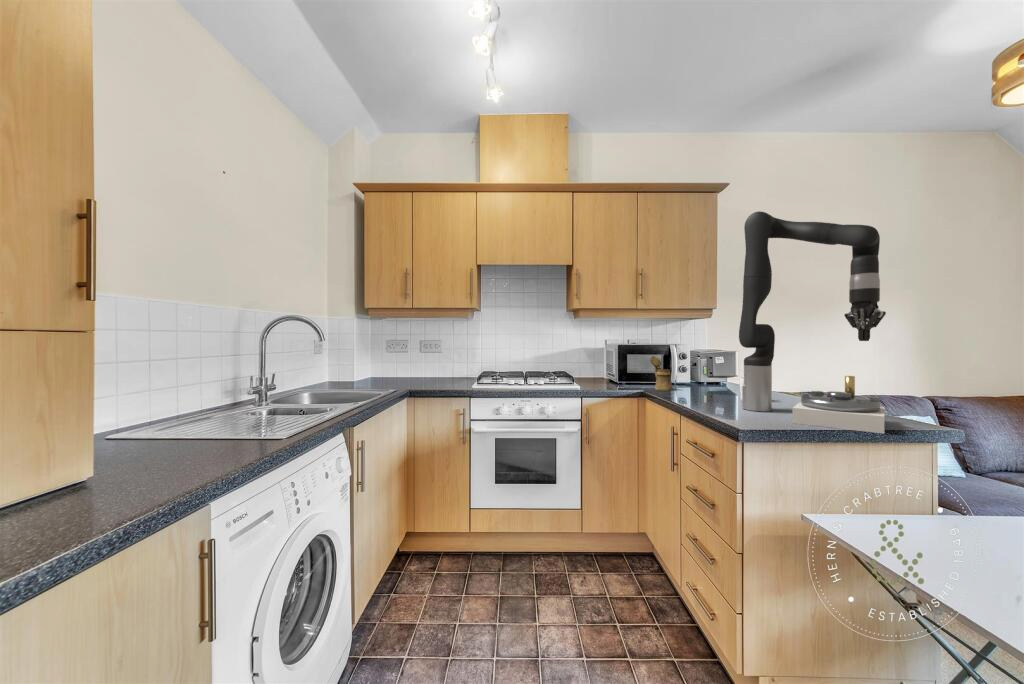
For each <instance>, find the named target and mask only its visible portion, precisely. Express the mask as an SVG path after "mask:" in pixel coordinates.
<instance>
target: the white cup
mask: <svg viewBox="0 0 1024 684" xmlns="http://www.w3.org/2000/svg"><path fill="white" fill-rule="evenodd" d="M738 380H739V381H738V382H739V393H740V401H742V385H743V384H744V376H742V377H740V376H739V379H738Z"/></svg>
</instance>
